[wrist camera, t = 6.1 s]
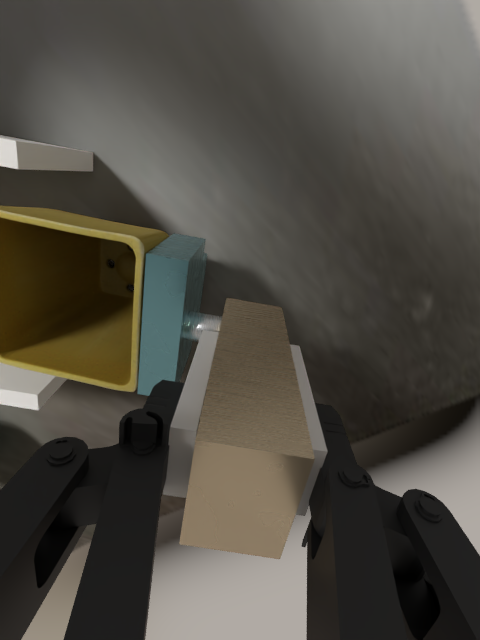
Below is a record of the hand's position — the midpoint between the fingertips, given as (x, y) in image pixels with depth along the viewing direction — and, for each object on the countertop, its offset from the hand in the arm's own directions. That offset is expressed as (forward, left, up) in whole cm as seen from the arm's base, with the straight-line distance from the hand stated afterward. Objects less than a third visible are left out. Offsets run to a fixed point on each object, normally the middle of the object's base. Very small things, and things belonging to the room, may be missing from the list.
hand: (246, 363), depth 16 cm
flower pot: (0, -9, -11) cm, 14 cm away
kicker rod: (0, -2, -10) cm, 10 cm away
